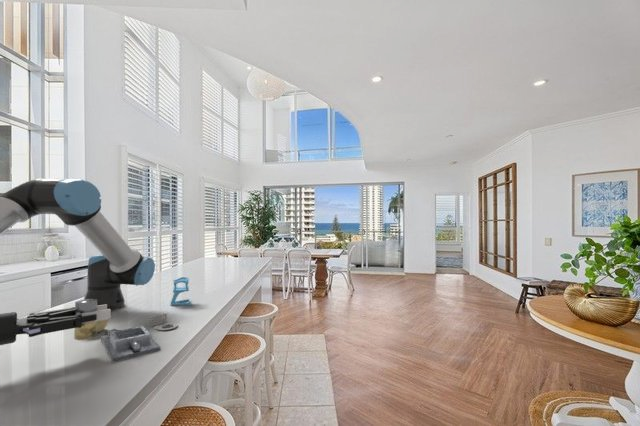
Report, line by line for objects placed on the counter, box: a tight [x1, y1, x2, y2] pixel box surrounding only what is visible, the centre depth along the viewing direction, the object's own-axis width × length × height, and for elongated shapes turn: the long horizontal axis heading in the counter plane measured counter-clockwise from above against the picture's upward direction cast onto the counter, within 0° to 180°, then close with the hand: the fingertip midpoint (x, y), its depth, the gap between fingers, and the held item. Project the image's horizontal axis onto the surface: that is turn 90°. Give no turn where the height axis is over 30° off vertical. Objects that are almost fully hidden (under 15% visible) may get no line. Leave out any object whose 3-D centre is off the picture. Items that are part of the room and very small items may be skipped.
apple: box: [96, 319, 109, 334], centre depth 103 cm, size 8×8×8 cm
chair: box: [169, 276, 191, 306], centre depth 138 cm, size 8×8×12 cm
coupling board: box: [100, 325, 161, 363], centre depth 94 cm, size 20×12×4 cm, turn 44°
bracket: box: [148, 313, 178, 331], centre depth 109 cm, size 7×10×4 cm, turn 57°
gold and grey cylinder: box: [73, 298, 97, 341], centre depth 86 cm, size 5×5×10 cm
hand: (108, 311), depth 90 cm, fingers closed on gold and grey cylinder, 5 cm apart
